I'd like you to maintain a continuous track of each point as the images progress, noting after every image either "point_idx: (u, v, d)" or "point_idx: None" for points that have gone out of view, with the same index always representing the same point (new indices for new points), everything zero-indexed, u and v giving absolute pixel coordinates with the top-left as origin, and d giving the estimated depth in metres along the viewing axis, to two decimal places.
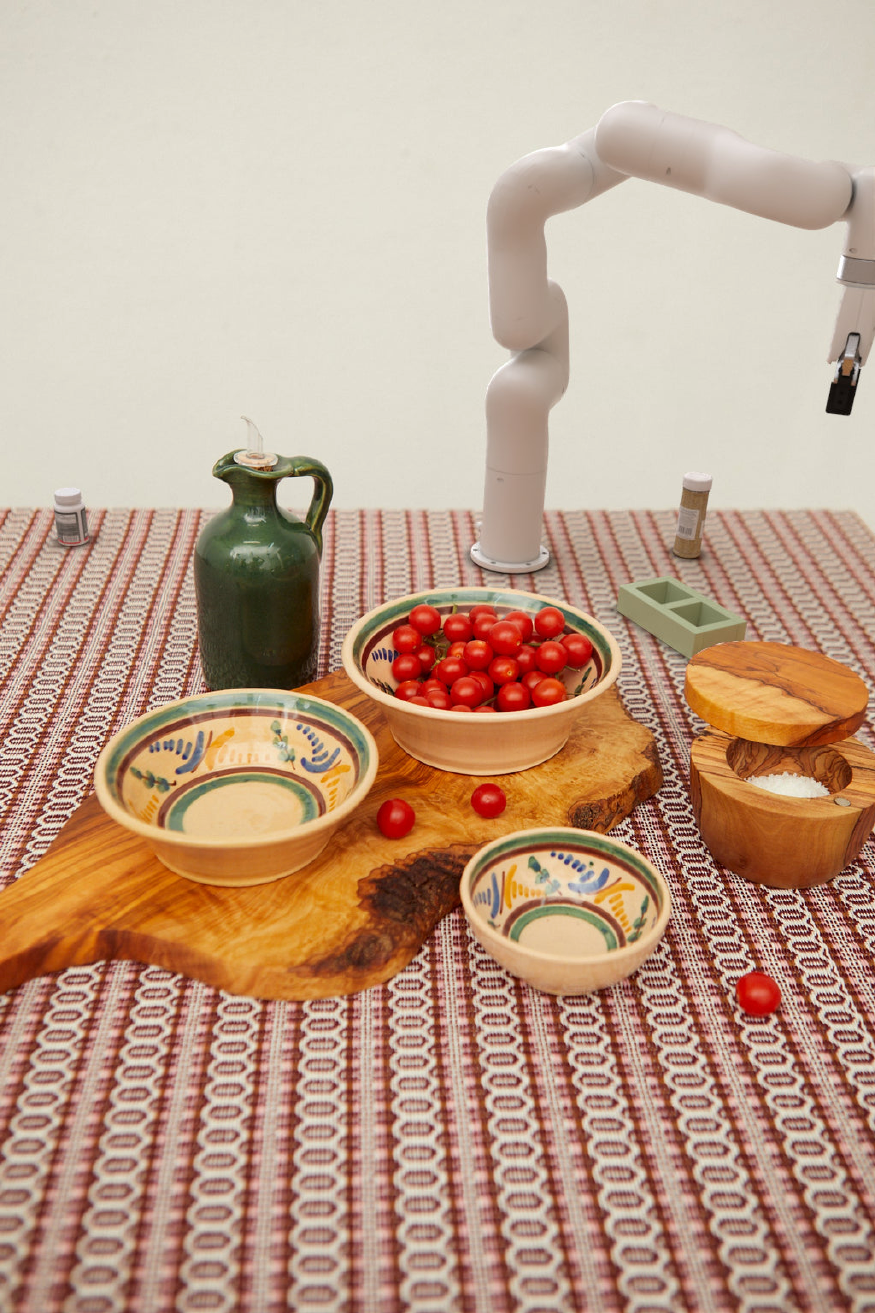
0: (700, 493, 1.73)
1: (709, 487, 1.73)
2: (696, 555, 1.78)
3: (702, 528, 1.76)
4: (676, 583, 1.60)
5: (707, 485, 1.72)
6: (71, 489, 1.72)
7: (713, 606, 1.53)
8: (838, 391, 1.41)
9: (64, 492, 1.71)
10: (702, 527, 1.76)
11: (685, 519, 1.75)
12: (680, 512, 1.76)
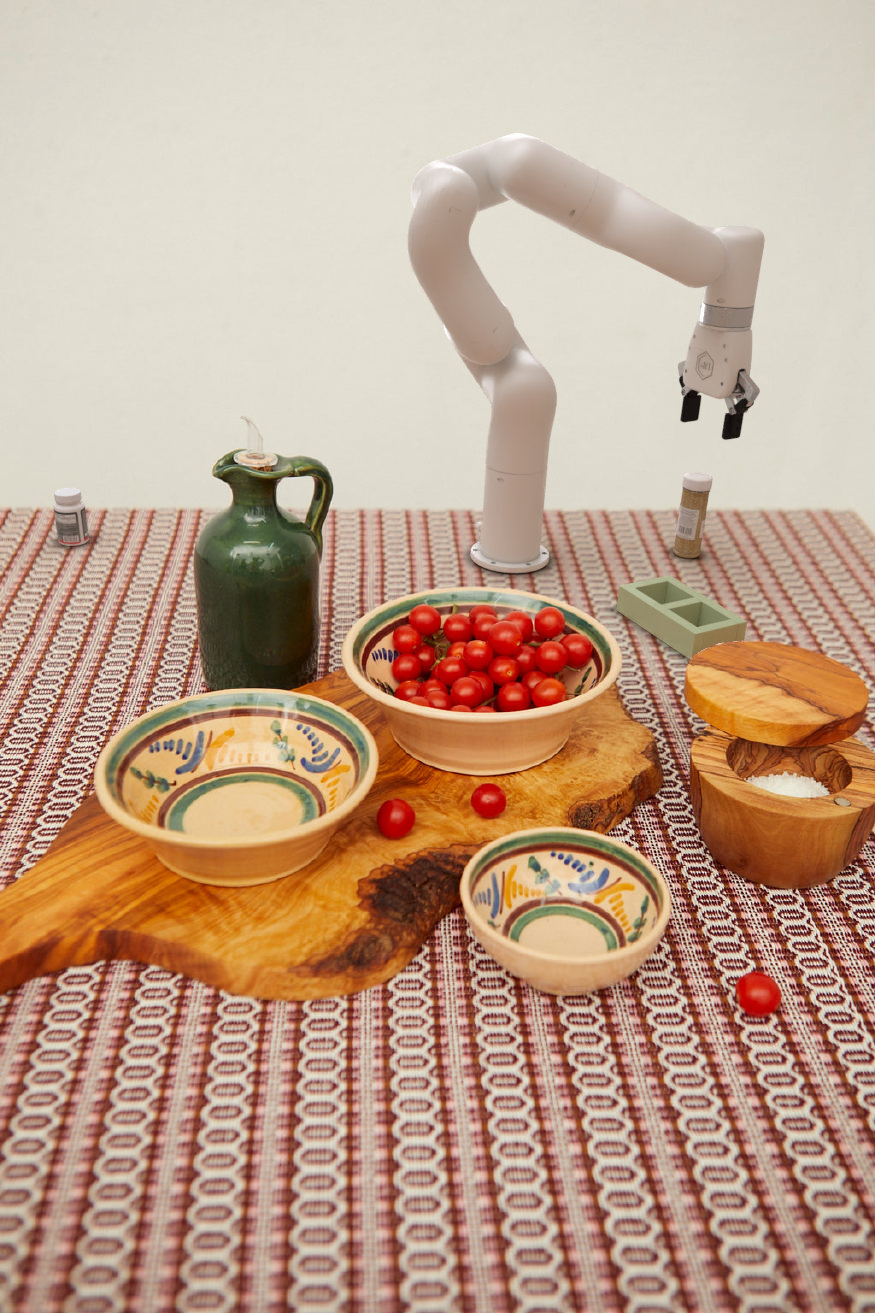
0: (700, 493, 1.73)
1: (709, 487, 1.73)
2: (696, 555, 1.78)
3: (702, 528, 1.76)
4: (676, 583, 1.60)
5: (707, 485, 1.72)
6: (71, 489, 1.72)
7: (713, 606, 1.53)
8: (735, 420, 1.64)
9: (64, 492, 1.71)
10: (702, 527, 1.76)
11: (685, 519, 1.75)
12: (680, 512, 1.76)
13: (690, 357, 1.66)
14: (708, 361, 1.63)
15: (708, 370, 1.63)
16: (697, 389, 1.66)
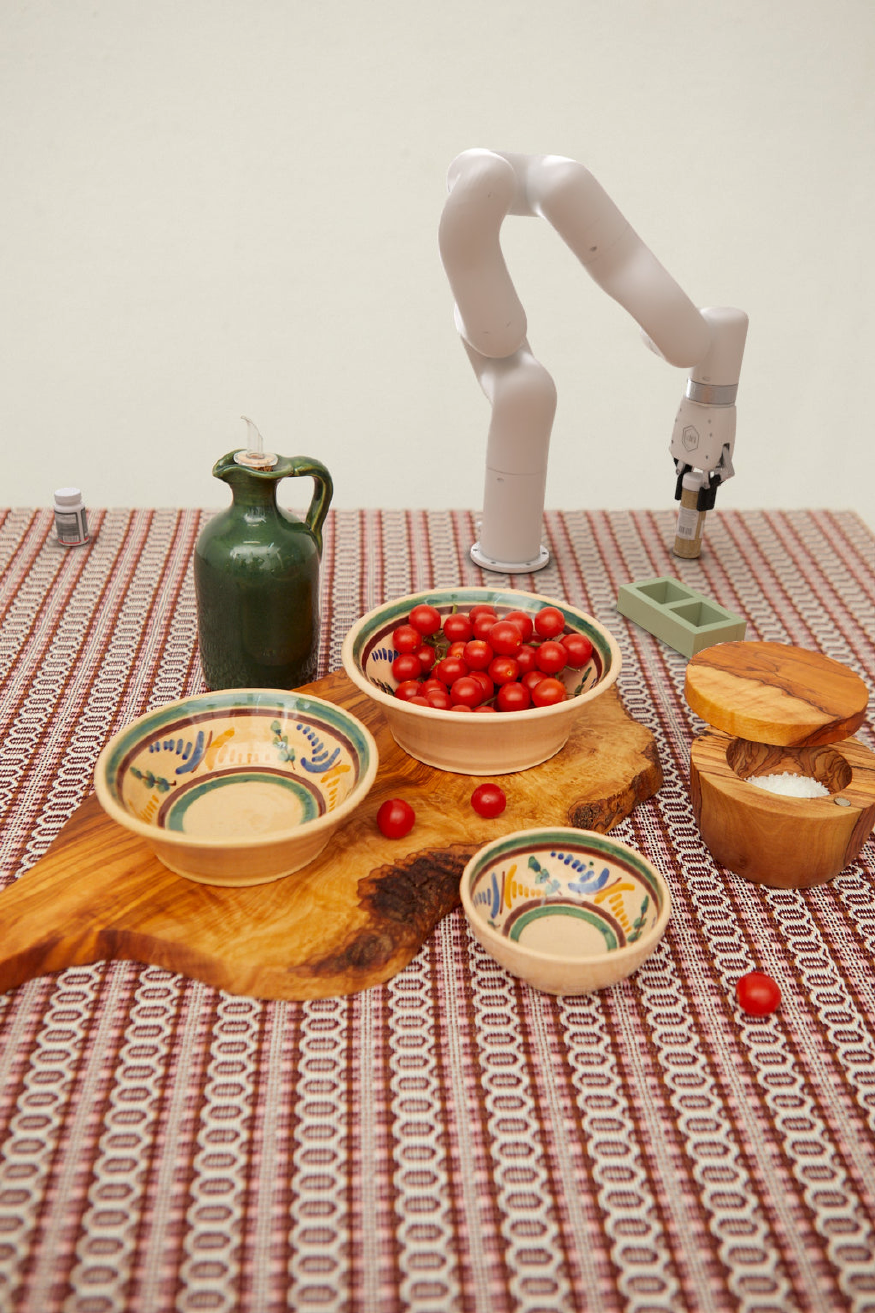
0: None
1: None
2: (696, 555, 1.78)
3: (702, 528, 1.76)
4: (676, 583, 1.60)
5: None
6: (71, 489, 1.72)
7: (713, 606, 1.53)
8: (709, 494, 1.72)
9: (64, 492, 1.71)
10: (702, 527, 1.76)
11: (685, 519, 1.75)
12: (679, 512, 1.76)
13: (676, 429, 1.72)
14: (694, 434, 1.69)
15: (694, 443, 1.69)
16: (683, 460, 1.72)
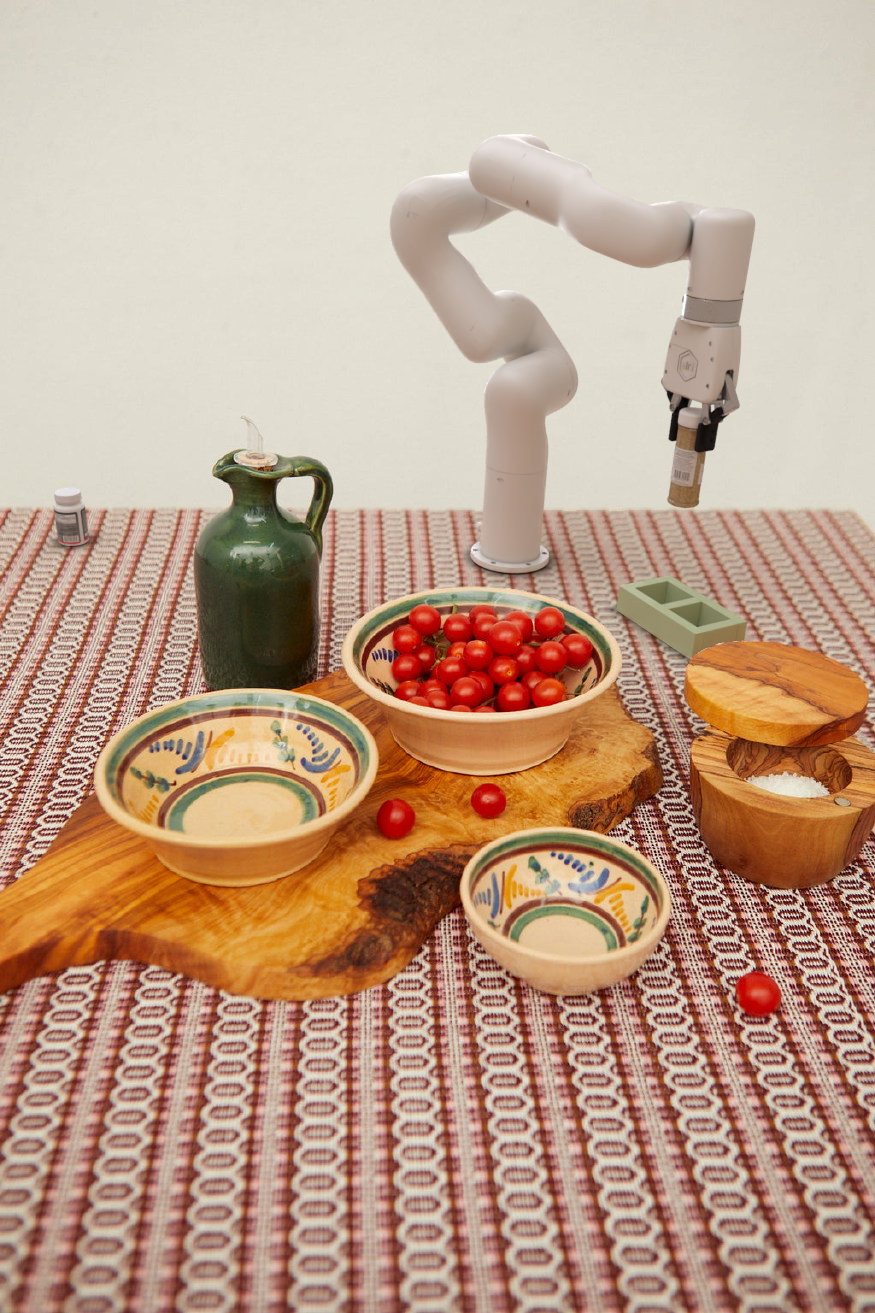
0: None
1: None
2: (694, 504, 1.54)
3: (701, 472, 1.52)
4: (676, 583, 1.60)
5: None
6: (71, 489, 1.72)
7: (713, 606, 1.53)
8: (710, 431, 1.48)
9: (64, 492, 1.71)
10: (701, 471, 1.52)
11: (681, 463, 1.52)
12: (675, 454, 1.52)
13: (671, 356, 1.48)
14: (691, 361, 1.45)
15: (691, 371, 1.45)
16: (679, 392, 1.48)
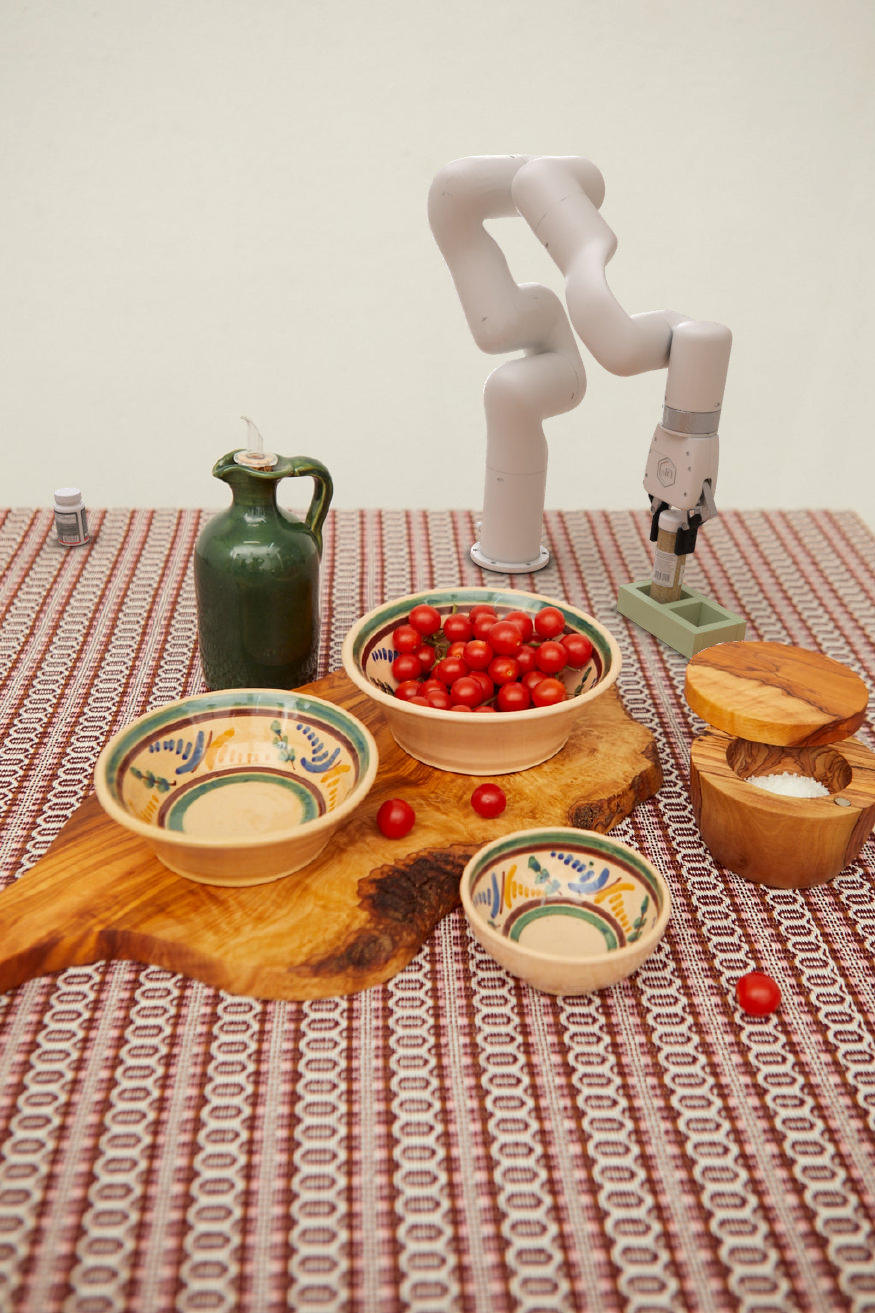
0: None
1: None
2: None
3: (681, 574, 1.54)
4: None
5: None
6: (71, 489, 1.72)
7: (713, 606, 1.53)
8: (689, 536, 1.49)
9: (64, 492, 1.71)
10: (681, 573, 1.54)
11: (662, 564, 1.53)
12: (656, 555, 1.54)
13: (651, 461, 1.49)
14: (670, 468, 1.46)
15: (670, 478, 1.46)
16: (658, 497, 1.49)
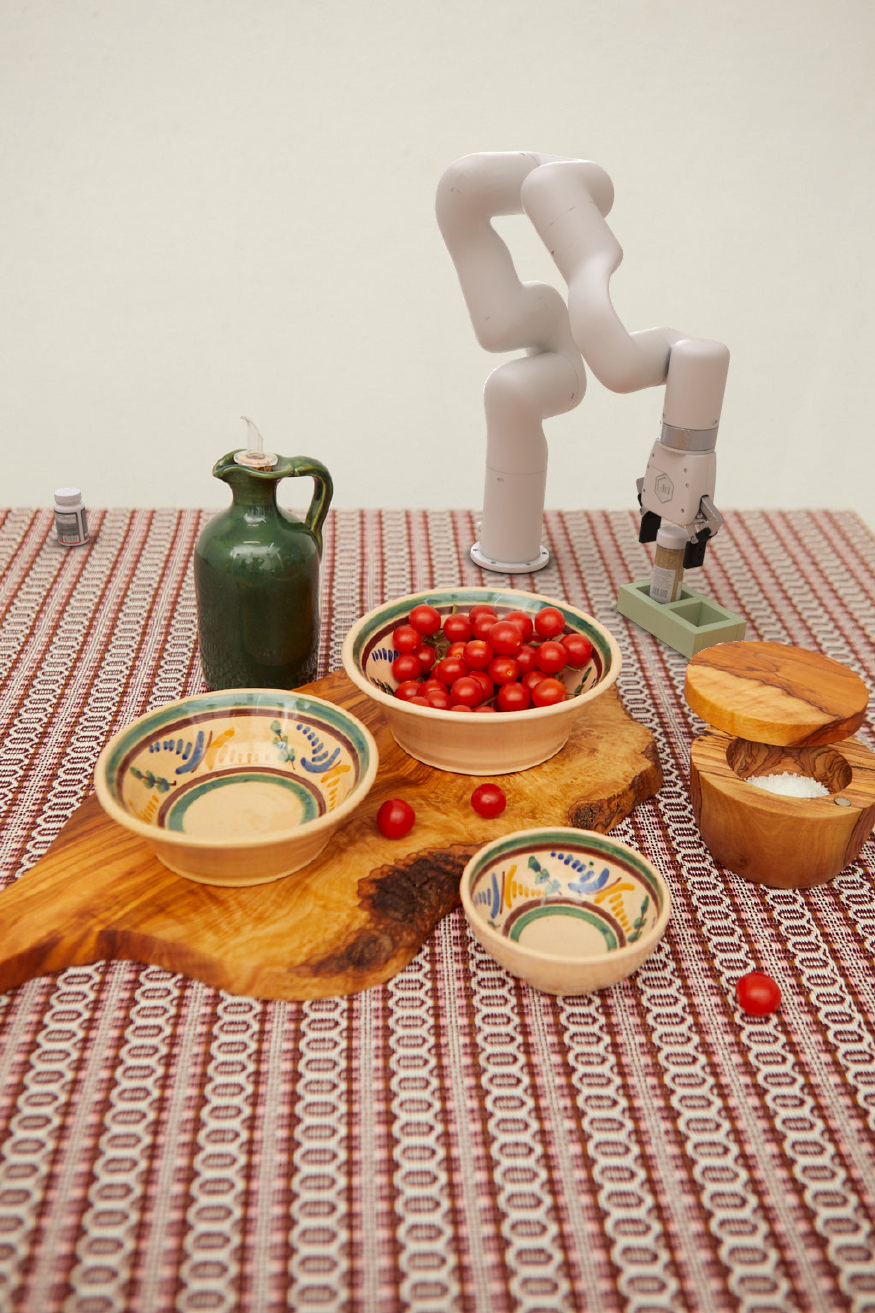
0: (676, 551, 1.52)
1: None
2: None
3: (679, 590, 1.55)
4: None
5: (684, 542, 1.51)
6: (71, 489, 1.72)
7: (713, 606, 1.53)
8: (698, 549, 1.48)
9: (64, 492, 1.71)
10: (679, 589, 1.55)
11: (659, 580, 1.54)
12: (653, 572, 1.55)
13: (649, 477, 1.50)
14: (668, 484, 1.47)
15: (668, 494, 1.48)
16: (656, 512, 1.50)
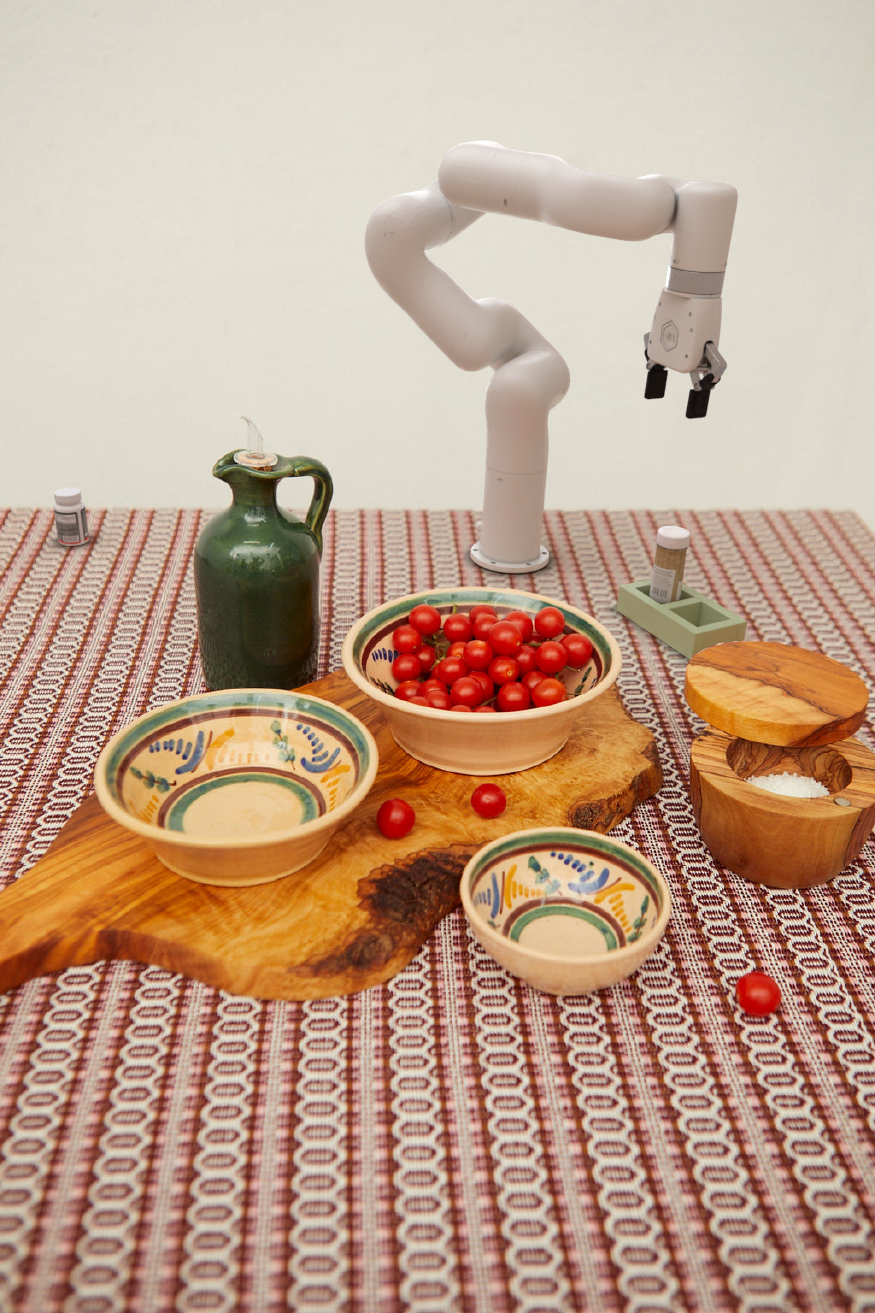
0: (676, 551, 1.51)
1: (686, 544, 1.52)
2: None
3: (679, 590, 1.55)
4: None
5: (684, 542, 1.51)
6: (71, 489, 1.72)
7: (713, 606, 1.53)
8: (701, 397, 1.49)
9: (64, 492, 1.71)
10: (679, 589, 1.55)
11: (659, 580, 1.54)
12: (653, 572, 1.55)
13: (655, 327, 1.52)
14: (673, 331, 1.48)
15: (673, 341, 1.49)
16: (661, 362, 1.52)
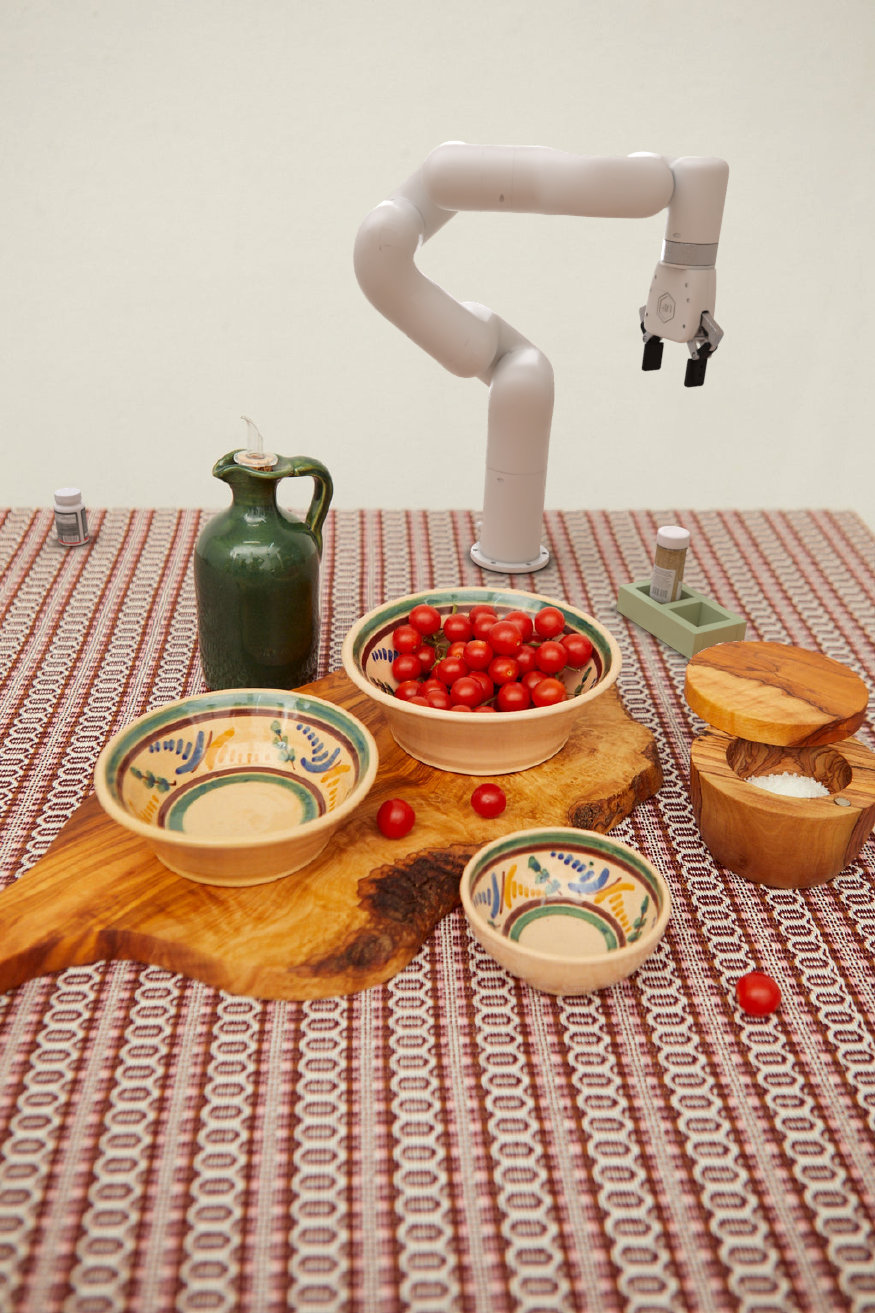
0: (676, 551, 1.51)
1: (686, 544, 1.52)
2: None
3: (679, 590, 1.55)
4: None
5: (684, 542, 1.51)
6: (71, 489, 1.72)
7: (713, 606, 1.53)
8: (698, 366, 1.54)
9: (64, 492, 1.71)
10: (679, 589, 1.55)
11: (659, 580, 1.54)
12: (653, 572, 1.55)
13: (651, 299, 1.56)
14: (670, 303, 1.53)
15: (670, 312, 1.53)
16: (658, 334, 1.56)
